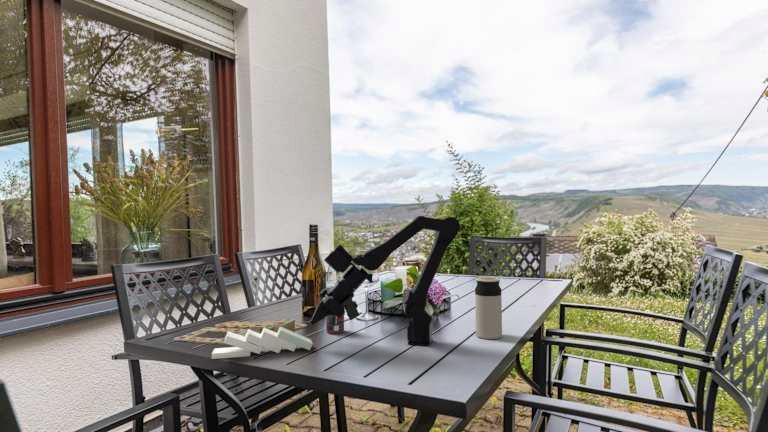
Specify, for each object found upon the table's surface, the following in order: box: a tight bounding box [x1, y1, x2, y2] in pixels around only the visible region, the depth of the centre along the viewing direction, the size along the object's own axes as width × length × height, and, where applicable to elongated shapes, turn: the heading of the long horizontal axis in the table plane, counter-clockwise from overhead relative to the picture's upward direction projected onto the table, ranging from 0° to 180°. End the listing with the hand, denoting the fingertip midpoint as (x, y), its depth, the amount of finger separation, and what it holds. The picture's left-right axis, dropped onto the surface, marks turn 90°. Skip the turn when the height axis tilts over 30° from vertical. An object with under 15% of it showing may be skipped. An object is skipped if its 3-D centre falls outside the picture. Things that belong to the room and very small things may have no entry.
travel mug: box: [474, 276, 503, 340], centre depth 139 cm, size 8×8×18 cm
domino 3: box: [245, 328, 283, 354], centre depth 126 cm, size 2×5×10 cm
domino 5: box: [277, 327, 313, 351], centre depth 128 cm, size 2×5×10 cm
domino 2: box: [224, 331, 263, 355], centre depth 124 cm, size 2×5×10 cm
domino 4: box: [261, 328, 298, 352], centre depth 127 cm, size 2×5×10 cm
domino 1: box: [211, 346, 252, 360], centre depth 124 cm, size 2×5×10 cm
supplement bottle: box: [325, 314, 345, 335], centre depth 147 cm, size 6×6×11 cm
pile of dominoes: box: [173, 318, 308, 347], centre depth 148 cm, size 35×27×6 cm
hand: (311, 323), depth 129 cm, fingers closed
